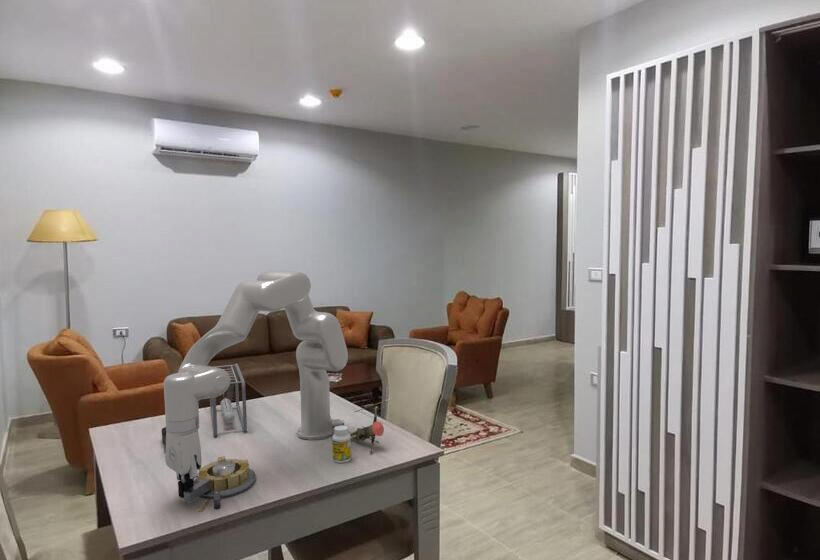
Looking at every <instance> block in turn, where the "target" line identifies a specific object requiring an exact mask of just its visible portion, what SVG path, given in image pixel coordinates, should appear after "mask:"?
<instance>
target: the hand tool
mask: <svg viewBox="0 0 820 560" xmlns="http://www.w3.org/2000/svg"><path fill="white" fill-rule="evenodd" d="M161 439H162V445H163V447H164V450H165V451H166V426H164V427H162V428H161Z"/></svg>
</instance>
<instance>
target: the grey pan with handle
mask: <svg viewBox="0 0 820 560" xmlns="http://www.w3.org/2000/svg"><path fill="white" fill-rule="evenodd" d="M224 461H231V462H234V463H235V473H233V474H230V471H228V472H223V473H222V476H218V477H216V476H213V466H214V465H215V464H217V463H220V462H224ZM249 469H250V464H249V461H248V459H244V460H243V459H239V458H228V459H227V458H226V456H225V455H224V456H218V457H217V460H216V461H213V462H210V463H207V464H205V465H204V466H201V468H200V469H199V470H198V472H197V473H198V481H199V483H197V484H195V485H194V486H192V487H191V488H189V489H188V490H186V491H184V498H183V502H185V503H191V502H192V503H193V501H195V500H196V499H198V498H200V497H199V496H201V495H202V494H204V493H205V492H207V491H208V490H211V491H213V490H214V491H216V490H227V489H231V488H234V487H237V486H239V485H241V484H243V483H244V482H246V481H247V479H248V478H249Z"/></svg>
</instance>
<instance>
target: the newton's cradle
mask: <svg viewBox="0 0 820 560" xmlns="http://www.w3.org/2000/svg"><path fill="white" fill-rule="evenodd" d="M209 366H210V367H212V366H211V365H209ZM215 367H216V368H225V367H230V369H231V370H229V371H226V368H225V369H223V370H225V371H226V372H227V373H229V372H230V373H229V377H230V385H229V387H228V390H226V395H227V396H226V397H225V395H224V393H223V394H222V396H223V399H222V400H221V401H220V405H219V406H220V409H217V397H213V398H209V409H210V418H211V425H212V432H213V434H212V435H213V436H214V437H217V436H218V435H223V434H230V433H237V432H244V433H245V432H247V431H248V419H247V398H246V396H247V395H246V394H247V393H246V381H245V378H244V376H243V373H242V371H241V369H240V366H239V364H238V363H235V364H228V365H218V366H215ZM239 380H240V381H239ZM240 383H241V399H242V410H241V406H240V394H239V393H240V391H239V388H240V387H239V384H240ZM234 387H235V389H234ZM233 390H235V406H236V407H233V406H232V400H233V397H232V396H233V395H234V391H233ZM234 409H236V410H237V414H238V417H239V420H240V426H241V428H242V429H239V430H238V429H237V430H231V431H223V432H218V417H217V415H218V414H217V413H218V411H219V412H220V411H221V414H222V419H223V421H224V422H225V423H232V422H233V421H234V420H235V417H236V416H235V413H234Z"/></svg>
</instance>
